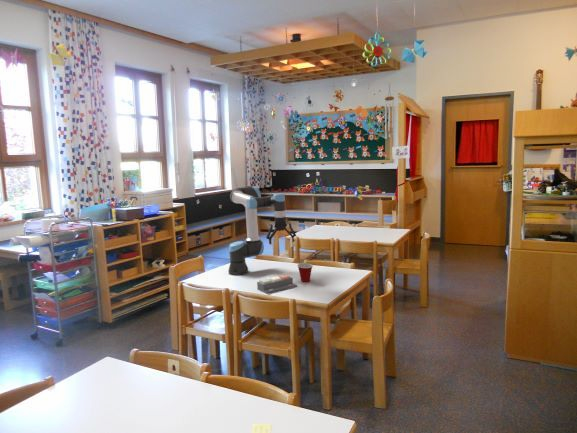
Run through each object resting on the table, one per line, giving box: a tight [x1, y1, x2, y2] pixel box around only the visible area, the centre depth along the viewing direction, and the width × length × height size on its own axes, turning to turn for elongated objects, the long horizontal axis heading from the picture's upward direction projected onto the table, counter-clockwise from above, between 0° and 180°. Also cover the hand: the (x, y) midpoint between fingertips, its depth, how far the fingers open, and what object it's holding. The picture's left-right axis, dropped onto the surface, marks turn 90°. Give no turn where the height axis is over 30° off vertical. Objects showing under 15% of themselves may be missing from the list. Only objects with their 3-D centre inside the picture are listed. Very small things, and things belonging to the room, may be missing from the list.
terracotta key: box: [277, 273, 291, 280], centre depth 298 cm, size 6×6×3 cm
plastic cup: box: [297, 262, 314, 283], centre depth 304 cm, size 11×11×12 cm
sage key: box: [258, 278, 272, 284], centre depth 290 cm, size 6×6×3 cm
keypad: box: [256, 276, 298, 295], centre depth 292 cm, size 13×23×5 cm, turn 123°
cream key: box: [268, 276, 281, 282], centre depth 294 cm, size 6×6×3 cm
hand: (281, 247), depth 296 cm, fingers open, 13 cm apart
